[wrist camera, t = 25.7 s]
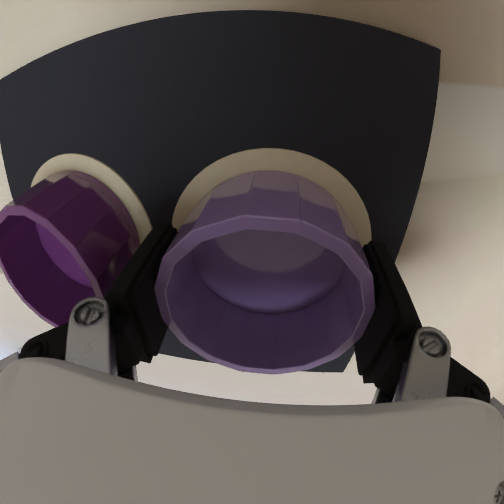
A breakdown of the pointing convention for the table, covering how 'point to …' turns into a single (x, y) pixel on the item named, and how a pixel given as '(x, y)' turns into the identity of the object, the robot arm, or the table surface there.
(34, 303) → the plum dish
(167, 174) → the mat
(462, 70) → the table surface
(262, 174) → the lavender dish
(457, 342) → the table surface
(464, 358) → the table surface
